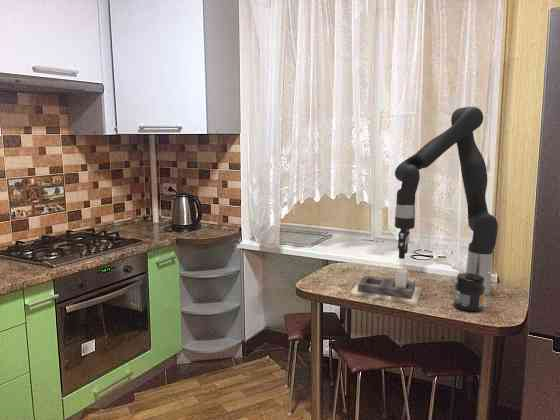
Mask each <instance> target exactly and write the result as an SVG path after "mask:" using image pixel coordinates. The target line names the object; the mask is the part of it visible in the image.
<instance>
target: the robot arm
mask: <svg viewBox="0 0 560 420" xmlns="http://www.w3.org/2000/svg"><path fill="white" fill-rule="evenodd" d="M450 121H451V122H450V123H451V126H450V127H449V128H448V129H446V130H445V131H443V132H442V133H440V134H439V135H437V136H436V137H434V138H433V139H431V140H430V141H427V143H426V144H424V145H423V146H422V147H421V148H420V149H419V150H418V151H417V152H415V154H413V155H411V156H409V157H408V158H406V159H405V160H403V161H402V162H401V163H399V165H398V166H397V167H396V169H395V170H394V176H395V179H396V180H397V181H399V182H401V187H400V188H399V189H398V190H397V192H396V204H395V210H394V211H395V214H394V227H395V228H396V229H399V232H398V236H397V237H398V240H397V249H398V259H400V260H405V259H406V254H408V249H409V243H410V242H409V241H410V234H411V233H410V232H411V231H410V230H412V229H414V228H415V227H416V226H415V224H416V222H415V220H416V194H417V191H418V187H419V183H420V178H421V175H420V170H422V169H426V168H428V167H430V166H431V165H432V164H433V163H434V162H436V161H437V160H438V159H439V157H441V156H443V154H444V153H445V152H447V151H448V150H449V149H450V148H451V147H453V146H454V145H455V144H456V146H457V154H458V159H459V163H460V171H461V173H460V174H461V179H462V183H463V184H462V185H463V191H464V193H465V198H466V205H467V207H466V208H467V224H468V227H469V229H470V230H471V231H472V239H471V242H469V244H468V246H467V247H468V250H467V261H466V269H465V270H466V272H465V273H472V274H477V275H480V276H482V277H484V279H485V281H484V284H483V285H484V286H485V292H484V296H488V297H489V296H490V288H491V279H492V266H493V265H492V263H493V253H494V249H495V247H496V243H497V239H498V238H497V236H498V230H499V229H498V228H499V225H498V224H499V223H498V220H497V218H496V217H495V216H494V215H492V214H491V213H489V209H488V205H487V200H486V193H487V187H488V170H487V165H486V161H485V159H484V157H483V154H482V153H481V151H480V149H479V148H478V146H477V144H476V140H475V137H474V131H476V130H477V129H478V128H480V127H481V125H483V121H484V114H483V112H482V110H481V109H480V108H478V107H477V106H466V107H465V106H464V107H459V108H456V109H455V110H454V111H453V113H452V114H451V119H450Z"/></svg>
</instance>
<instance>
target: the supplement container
mask: <svg viewBox="0 0 560 420" xmlns="http://www.w3.org/2000/svg"><path fill="white" fill-rule="evenodd" d="M484 281H485V279H484V277H482V276H480V275H477V274H472V273H466V272H462V273H458V274H457V276H456V282H455V283H454V295H453V297H454V298H453V305H454V307H456V308H457V309H458V308H459V310H461V311H464V310H466V311H465V312H469V311H477V312H480V311H482V310H483V308H484V300H485V295H484V292H485V286H484V285H483V284H484Z"/></svg>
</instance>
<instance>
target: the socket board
mask: <svg viewBox="0 0 560 420" xmlns="http://www.w3.org/2000/svg"><path fill="white" fill-rule="evenodd" d="M357 281H358V282H356V283H355V285H354V286H353V288H352V289H351V291H350V292H349V296H352V297H359V298H364V299H372V300H378V301H385V302H390V303H391V302H392V303H400V304H405V305H413V306H418V304H419V300H420V297H421V295H422V290H423V288H422V287H419V286H416V281H415V282H414V281H408V280H407V285H406V288H399V287H395V279H393V278H386V277H378V276H369V275H364V276H363V277H362V278H361V279H358V280H357Z"/></svg>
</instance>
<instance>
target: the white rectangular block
mask: <svg viewBox="0 0 560 420" xmlns="http://www.w3.org/2000/svg"><path fill="white" fill-rule="evenodd" d="M394 275H395V276H394V277H395V279H394V280H395V287H399V288H406V285H407V281H408V269H401V268H397V269H396V270H395V274H394Z"/></svg>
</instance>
